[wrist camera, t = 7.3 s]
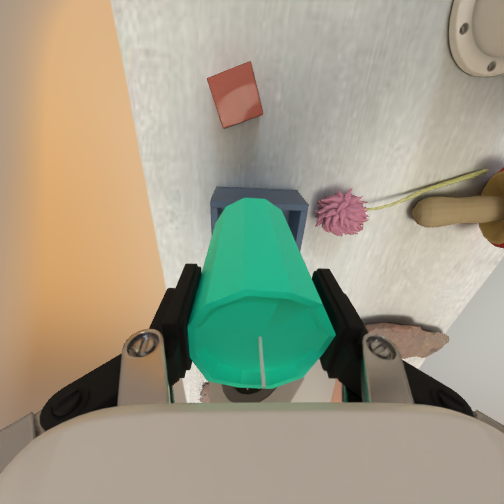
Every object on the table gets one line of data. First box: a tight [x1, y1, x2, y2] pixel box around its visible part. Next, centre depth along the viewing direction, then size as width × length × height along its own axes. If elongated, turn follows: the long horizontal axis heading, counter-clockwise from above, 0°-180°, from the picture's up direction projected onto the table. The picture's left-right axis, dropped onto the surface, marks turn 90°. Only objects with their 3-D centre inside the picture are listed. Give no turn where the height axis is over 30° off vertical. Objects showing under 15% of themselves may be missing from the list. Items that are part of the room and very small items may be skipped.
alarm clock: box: [209, 359, 335, 403], centre depth 37 cm, size 21×8×20 cm, turn 129°
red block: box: [207, 61, 263, 129], centre depth 24 cm, size 4×4×4 cm
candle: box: [187, 198, 336, 389], centre depth 13 cm, size 6×6×12 cm
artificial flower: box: [314, 169, 488, 236], centre depth 31 cm, size 7×7×25 cm
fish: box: [200, 384, 210, 403], centre depth 58 cm, size 3×14×5 cm
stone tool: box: [365, 323, 449, 359], centre depth 46 cm, size 11×6×25 cm
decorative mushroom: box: [412, 168, 504, 248], centre depth 30 cm, size 11×11×15 cm
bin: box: [210, 187, 309, 251], centre depth 32 cm, size 12×12×7 cm
